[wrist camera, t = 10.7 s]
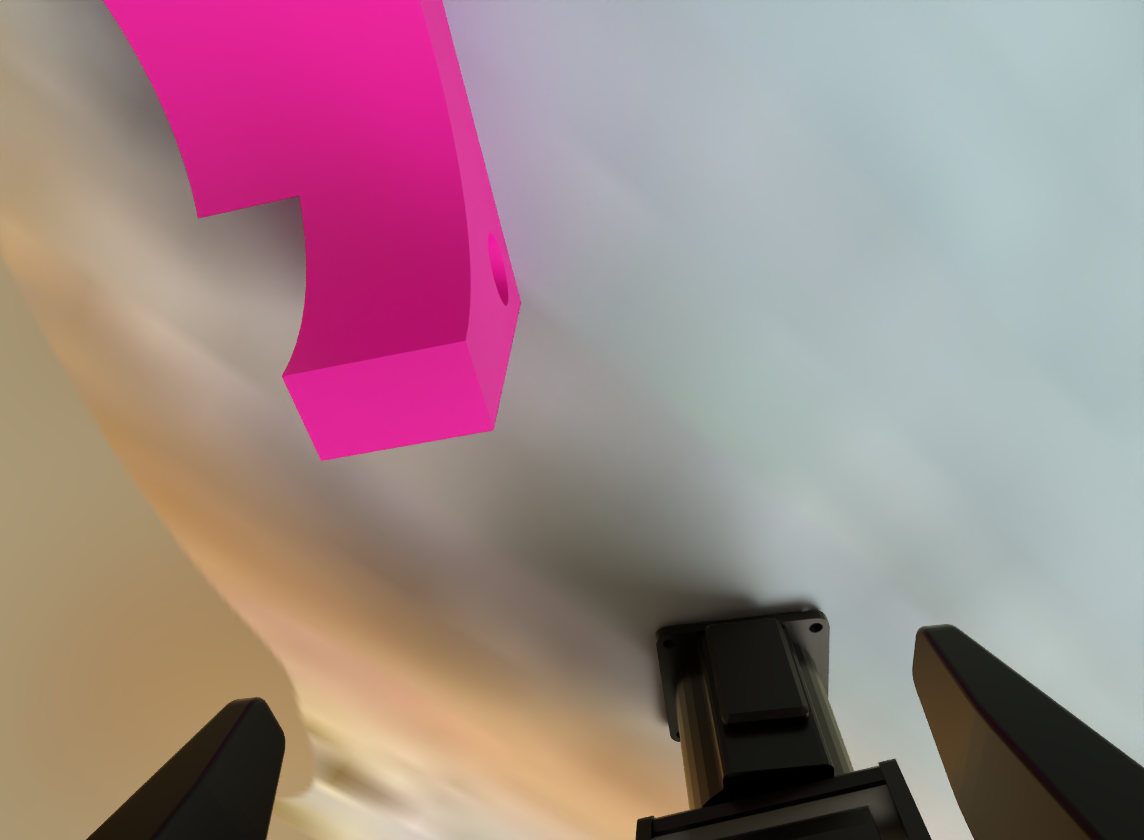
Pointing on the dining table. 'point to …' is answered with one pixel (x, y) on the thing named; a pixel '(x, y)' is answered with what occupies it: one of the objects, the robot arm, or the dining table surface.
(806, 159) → the dining table surface
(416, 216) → the toy block
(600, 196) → the dining table surface
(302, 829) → the dining table surface
